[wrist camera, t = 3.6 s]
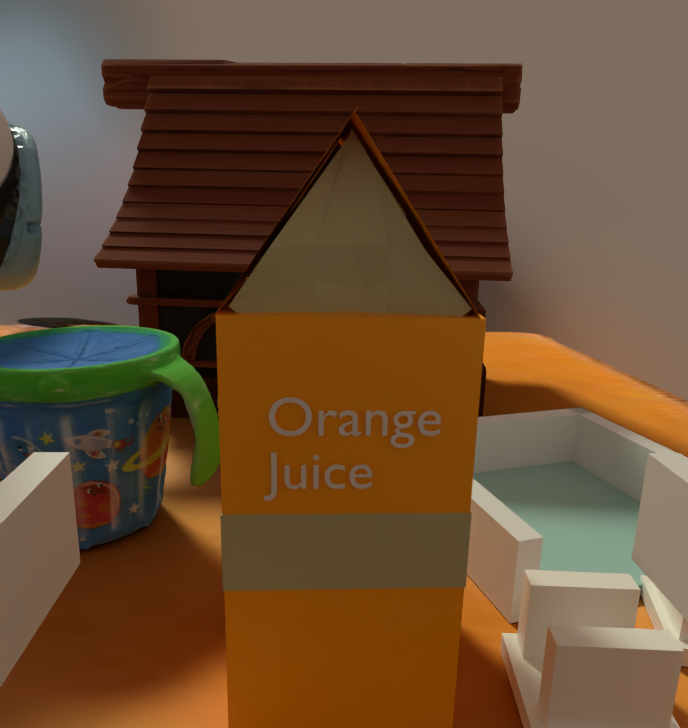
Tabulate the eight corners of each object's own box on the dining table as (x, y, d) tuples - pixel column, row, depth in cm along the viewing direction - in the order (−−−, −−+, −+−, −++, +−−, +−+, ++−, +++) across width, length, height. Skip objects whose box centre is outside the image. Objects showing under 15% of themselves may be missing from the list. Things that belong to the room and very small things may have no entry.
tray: (388, 483, 40) (390, 425, 39) (574, 460, 44) (581, 407, 43) (509, 623, 27) (518, 541, 26) (757, 570, 31) (773, 498, 30)
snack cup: (-94, 531, 33) (-127, 346, 30) (64, 459, 42) (50, 313, 40) (135, 612, 27) (118, 390, 24) (260, 508, 36) (258, 339, 34)
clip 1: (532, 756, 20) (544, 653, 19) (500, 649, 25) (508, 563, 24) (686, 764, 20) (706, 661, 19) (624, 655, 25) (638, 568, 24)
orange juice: (413, 585, 29) (438, 141, 24) (456, 742, 21) (509, 108, 16) (247, 587, 29) (238, 135, 24) (222, 750, 20) (199, 98, 15)
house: (474, 361, 72) (495, 93, 64) (519, 459, 44) (565, 11, 37) (181, 348, 74) (169, 90, 67) (54, 433, 47) (10, 12, 40)
